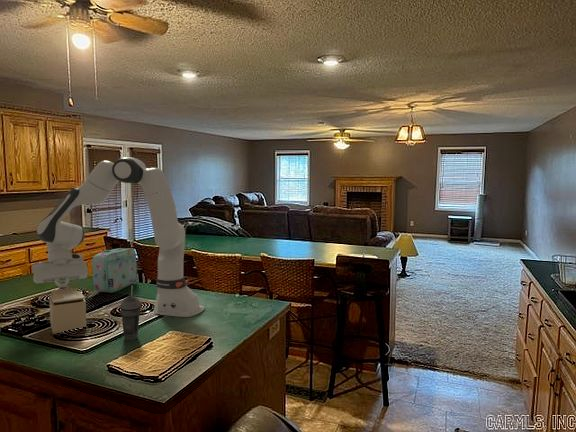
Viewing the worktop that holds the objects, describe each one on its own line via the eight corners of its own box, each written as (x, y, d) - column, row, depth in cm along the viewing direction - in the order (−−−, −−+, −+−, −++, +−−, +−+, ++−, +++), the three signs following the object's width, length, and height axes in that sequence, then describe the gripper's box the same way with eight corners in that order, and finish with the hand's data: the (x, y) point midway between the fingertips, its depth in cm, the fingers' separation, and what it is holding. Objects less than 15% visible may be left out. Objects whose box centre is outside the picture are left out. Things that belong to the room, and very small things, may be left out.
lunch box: (108, 296, 195) (107, 253, 193) (89, 294, 197) (89, 252, 195) (139, 282, 221) (138, 244, 219) (122, 281, 223) (122, 243, 221)
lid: (48, 292, 164) (48, 290, 164) (76, 289, 170) (76, 287, 170) (53, 303, 146) (53, 301, 146) (85, 299, 152) (85, 296, 152)
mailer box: (50, 324, 157) (49, 297, 156) (81, 319, 163) (80, 293, 162) (53, 334, 147) (52, 305, 146) (86, 329, 154) (85, 301, 152)
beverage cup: (134, 332, 152) (134, 280, 150) (145, 337, 147) (145, 284, 145) (116, 337, 146) (115, 284, 144) (126, 343, 142) (126, 288, 140)
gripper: (31, 258, 165) (33, 287, 158) (86, 254, 177) (90, 281, 170) (31, 267, 169) (33, 295, 163) (84, 262, 181) (88, 289, 174)
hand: (62, 288), depth 166 cm, fingers closed, pressing on lid
